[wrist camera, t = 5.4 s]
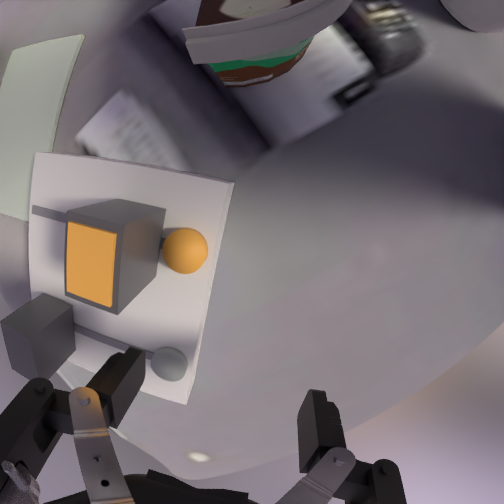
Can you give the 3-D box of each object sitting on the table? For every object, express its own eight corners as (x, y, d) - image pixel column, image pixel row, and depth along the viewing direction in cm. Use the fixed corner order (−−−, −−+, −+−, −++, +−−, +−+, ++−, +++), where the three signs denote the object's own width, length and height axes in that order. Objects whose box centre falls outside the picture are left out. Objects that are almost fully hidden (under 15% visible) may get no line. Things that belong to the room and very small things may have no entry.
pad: (85, 36, 15) (82, 34, 14) (44, 224, 19) (40, 225, 19) (15, 51, 15) (12, 50, 14) (-15, 206, 19) (-18, 206, 18)
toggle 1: (72, 305, 17) (30, 339, 12) (76, 349, 18) (41, 387, 13) (43, 292, 17) (0, 321, 12) (48, 336, 18) (12, 368, 13)
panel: (234, 182, 18) (226, 184, 14) (194, 380, 22) (183, 412, 18) (60, 152, 18) (28, 151, 14) (56, 330, 22) (33, 350, 18)
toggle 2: (166, 208, 15) (122, 225, 10) (156, 276, 16) (115, 317, 11) (119, 198, 15) (63, 211, 10) (112, 263, 16) (62, 297, 11)
